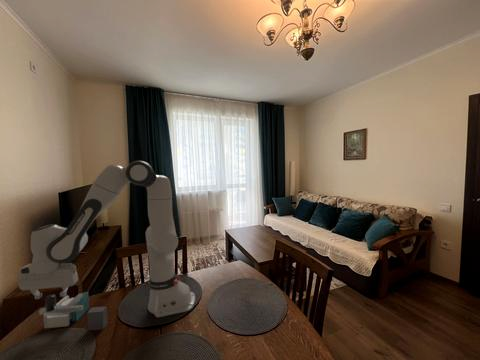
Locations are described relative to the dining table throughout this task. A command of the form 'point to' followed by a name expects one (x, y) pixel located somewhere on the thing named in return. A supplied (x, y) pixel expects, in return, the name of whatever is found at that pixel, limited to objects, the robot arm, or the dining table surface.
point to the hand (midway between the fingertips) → (51, 297)
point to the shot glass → (65, 305)
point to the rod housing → (97, 318)
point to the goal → (56, 318)
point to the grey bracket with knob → (67, 306)
